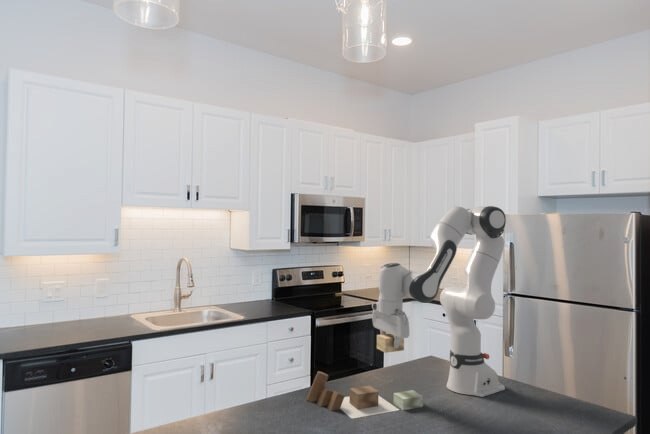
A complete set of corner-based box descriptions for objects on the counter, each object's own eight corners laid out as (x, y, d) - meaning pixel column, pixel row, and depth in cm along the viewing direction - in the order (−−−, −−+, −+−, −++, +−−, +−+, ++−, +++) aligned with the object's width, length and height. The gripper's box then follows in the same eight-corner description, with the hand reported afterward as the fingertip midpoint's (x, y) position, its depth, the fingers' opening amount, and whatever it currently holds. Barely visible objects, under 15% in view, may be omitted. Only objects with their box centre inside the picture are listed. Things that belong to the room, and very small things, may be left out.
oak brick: (394, 346, 169) (394, 333, 170) (403, 350, 164) (404, 336, 164) (376, 348, 166) (376, 335, 166) (385, 352, 161) (385, 338, 161)
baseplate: (374, 395, 165) (374, 392, 165) (399, 413, 149) (399, 410, 149) (329, 402, 158) (329, 399, 158) (351, 422, 142) (351, 418, 142)
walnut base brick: (369, 399, 158) (369, 385, 158) (378, 406, 152) (378, 391, 153) (349, 403, 155) (349, 388, 155) (357, 409, 149) (357, 394, 149)
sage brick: (412, 404, 158) (412, 390, 158) (422, 410, 152) (423, 396, 153) (393, 407, 155) (393, 393, 155) (403, 414, 149) (403, 399, 149)
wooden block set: (340, 420, 150) (352, 390, 151) (319, 413, 146) (331, 383, 148) (319, 398, 166) (330, 372, 167) (299, 392, 163) (310, 365, 164)
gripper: (413, 311, 157) (413, 351, 157) (383, 302, 176) (383, 337, 176) (398, 313, 155) (398, 353, 154) (369, 303, 173) (369, 339, 173)
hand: (390, 344), depth 165 cm, fingers closed on oak brick, 6 cm apart
